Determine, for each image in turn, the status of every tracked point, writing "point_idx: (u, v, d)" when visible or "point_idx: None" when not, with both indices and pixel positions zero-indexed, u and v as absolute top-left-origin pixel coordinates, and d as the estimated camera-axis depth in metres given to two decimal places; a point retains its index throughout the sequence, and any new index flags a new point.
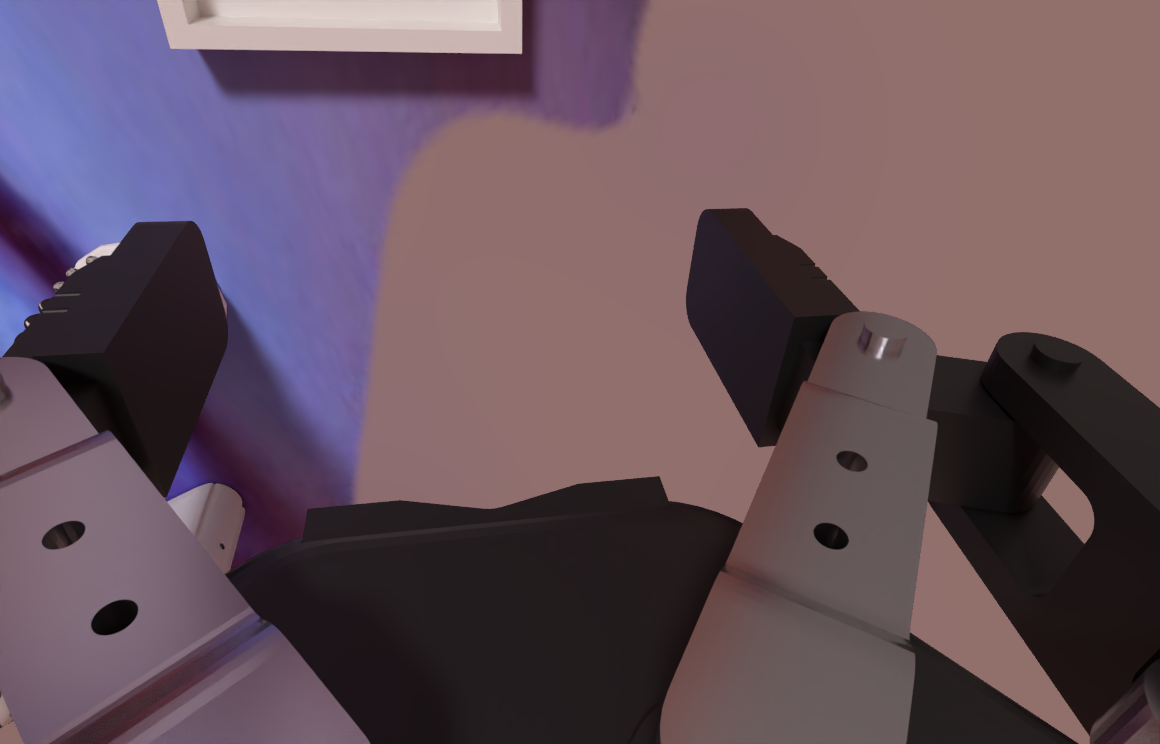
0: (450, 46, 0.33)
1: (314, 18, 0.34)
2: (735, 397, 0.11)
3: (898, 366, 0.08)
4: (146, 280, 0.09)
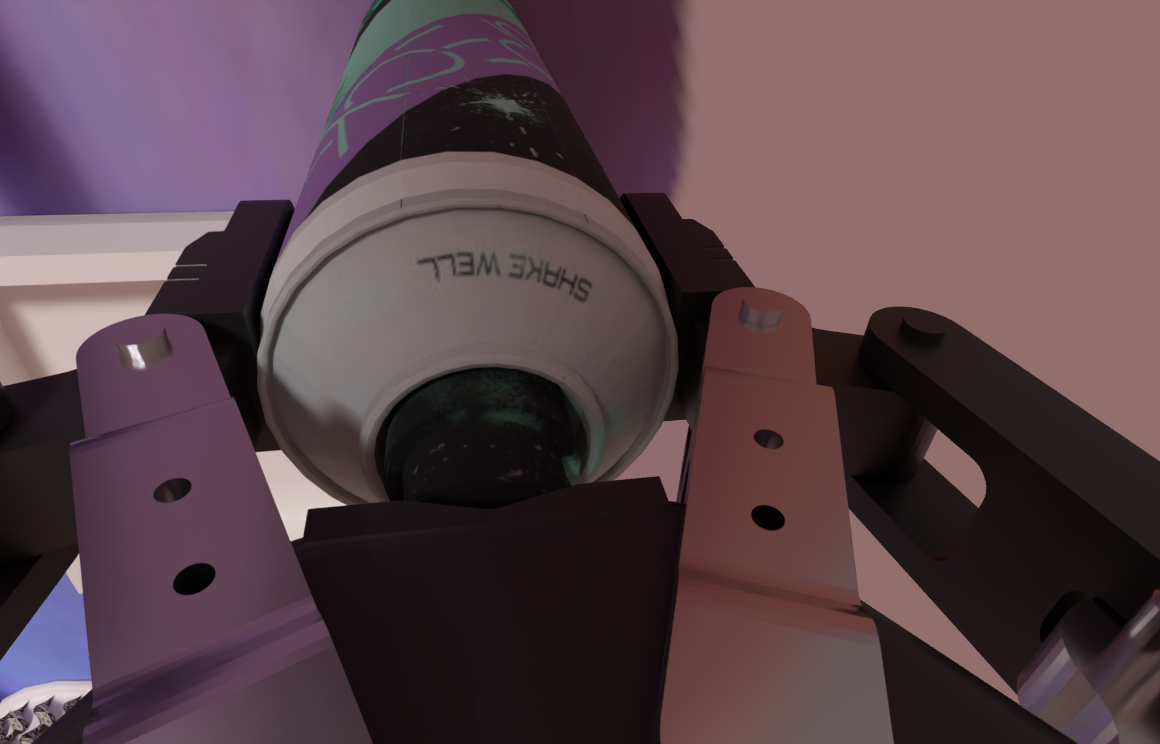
0: None
1: None
2: None
3: (768, 337, 0.08)
4: (263, 251, 0.09)
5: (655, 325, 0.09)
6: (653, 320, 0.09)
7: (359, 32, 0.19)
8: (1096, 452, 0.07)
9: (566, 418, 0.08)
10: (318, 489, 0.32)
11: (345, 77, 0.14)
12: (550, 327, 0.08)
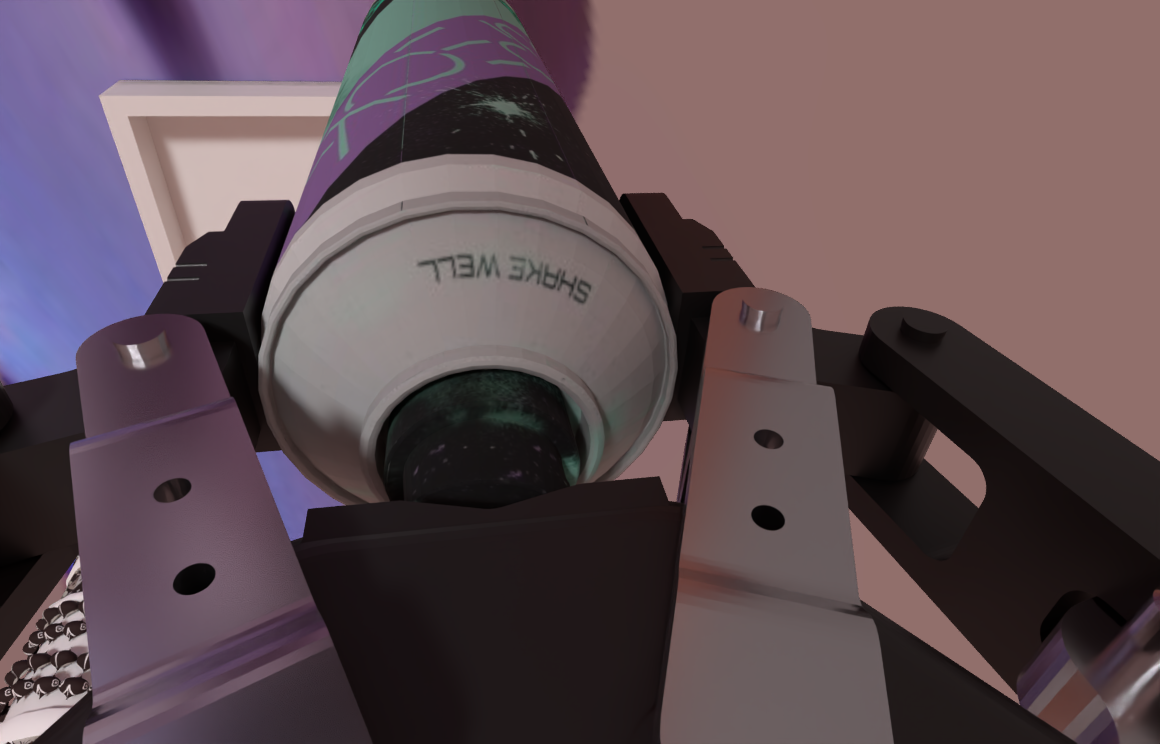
0: None
1: None
2: None
3: (769, 337, 0.08)
4: (263, 251, 0.09)
5: (654, 327, 0.09)
6: (652, 322, 0.09)
7: (359, 33, 0.19)
8: (1095, 452, 0.07)
9: (565, 419, 0.08)
10: None
11: (346, 79, 0.14)
12: (549, 329, 0.08)
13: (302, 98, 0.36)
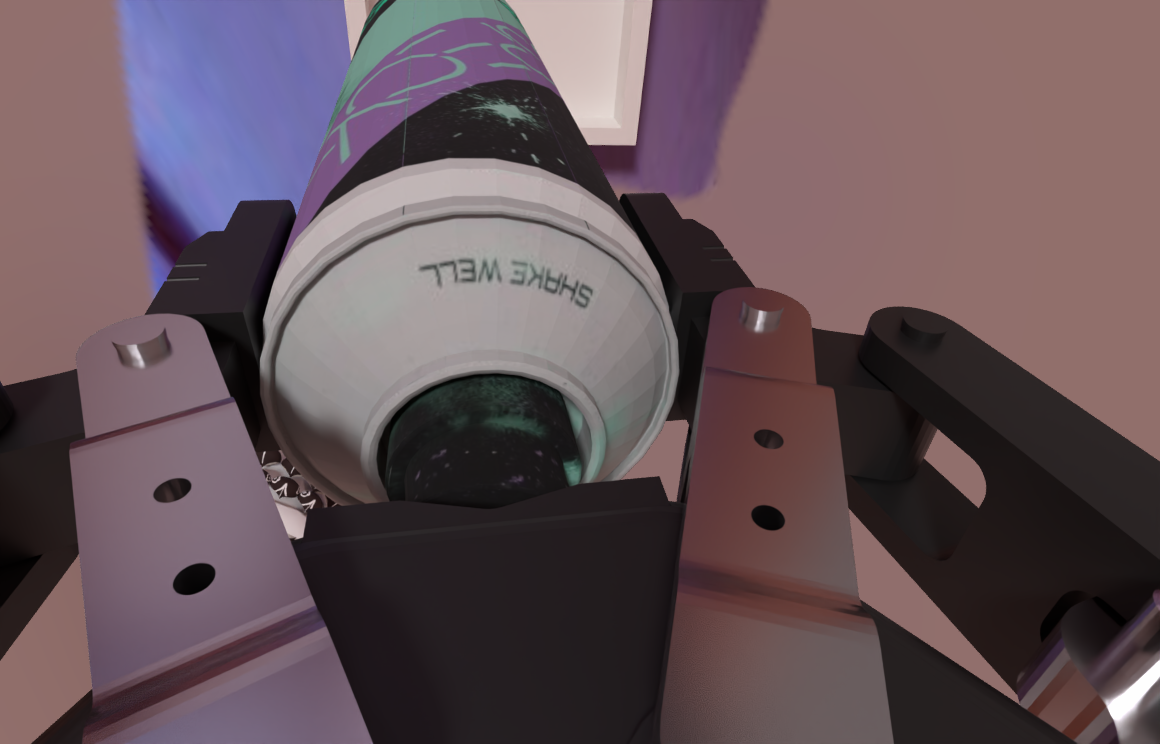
0: None
1: None
2: None
3: (769, 337, 0.08)
4: (263, 251, 0.09)
5: (656, 330, 0.09)
6: (654, 325, 0.09)
7: (361, 35, 0.19)
8: (1095, 452, 0.07)
9: (567, 423, 0.08)
10: None
11: (347, 81, 0.14)
12: (551, 334, 0.08)
13: None
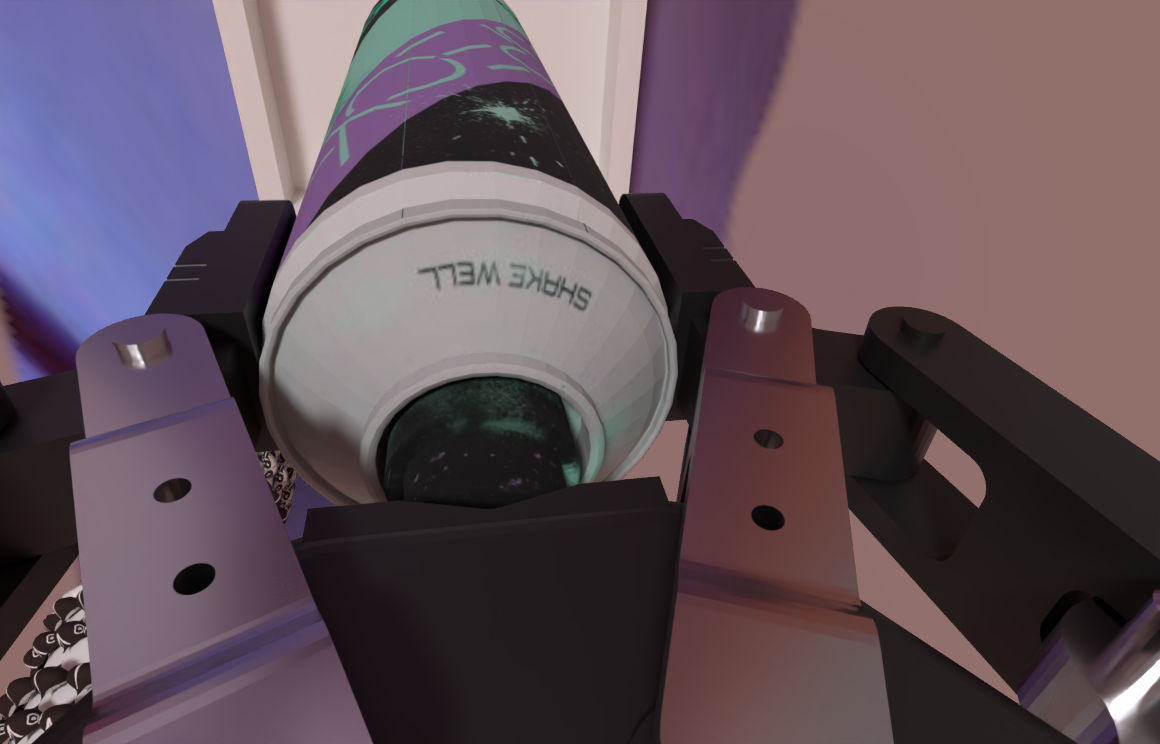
0: None
1: None
2: None
3: (769, 337, 0.08)
4: (263, 251, 0.09)
5: (654, 333, 0.09)
6: (652, 328, 0.09)
7: (360, 36, 0.19)
8: (1096, 452, 0.07)
9: (566, 426, 0.08)
10: None
11: (346, 83, 0.14)
12: (550, 336, 0.08)
13: None
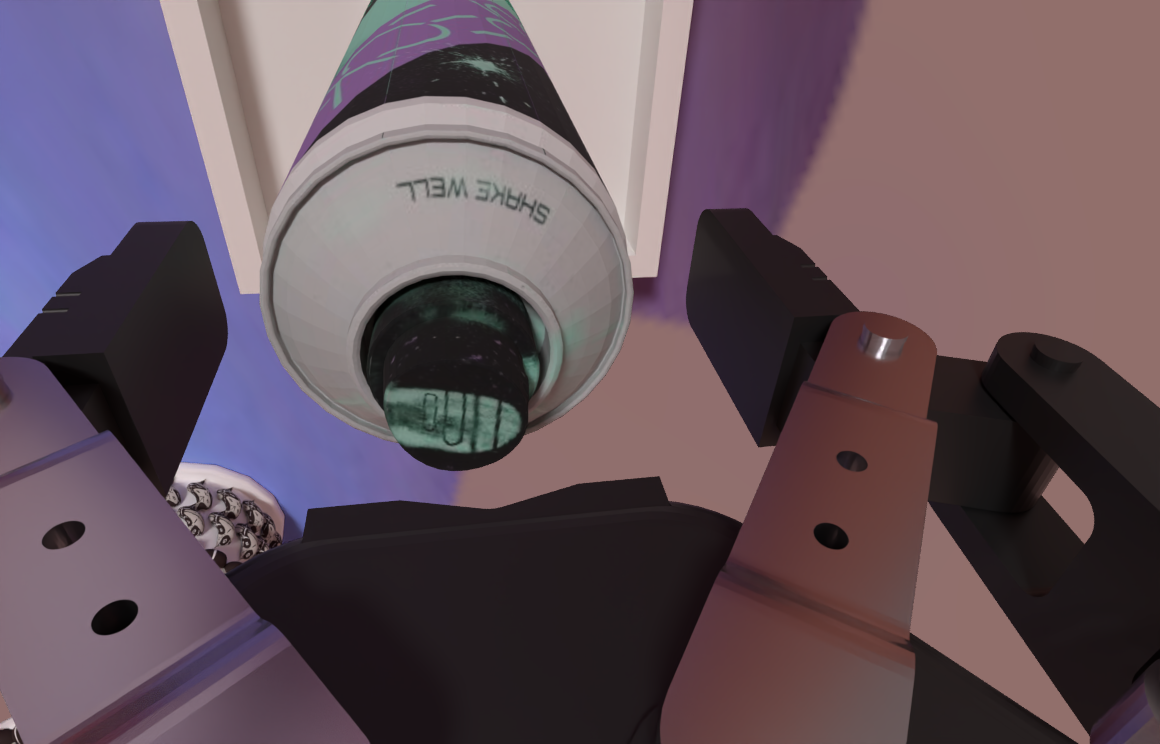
0: None
1: None
2: (734, 398, 0.11)
3: (897, 366, 0.08)
4: (146, 280, 0.09)
5: (610, 252, 0.10)
6: (608, 247, 0.10)
7: None
8: None
9: (526, 324, 0.09)
10: None
11: (345, 53, 0.16)
12: (511, 245, 0.09)
13: None
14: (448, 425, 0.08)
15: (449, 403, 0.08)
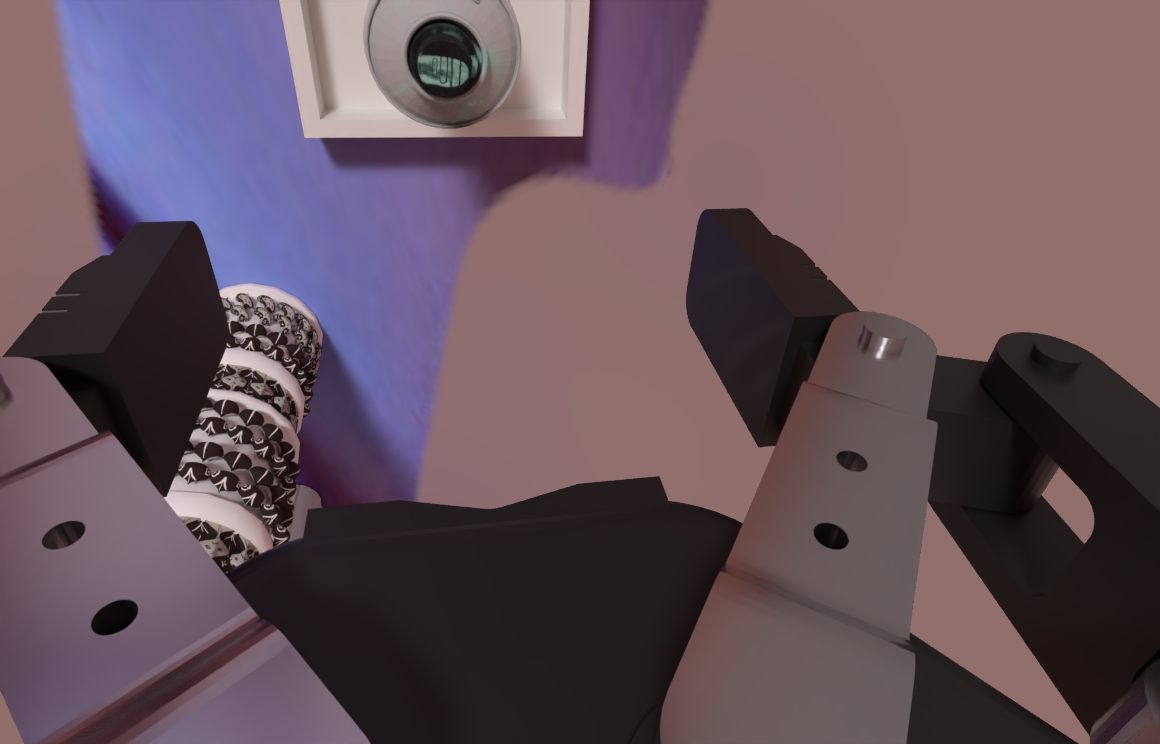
0: (525, 131, 0.41)
1: None
2: (734, 398, 0.11)
3: (898, 366, 0.08)
4: (146, 280, 0.09)
5: (508, 23, 0.24)
6: (507, 21, 0.23)
7: None
8: None
9: (472, 43, 0.23)
10: None
11: None
12: (465, 11, 0.23)
13: None
14: (441, 74, 0.22)
15: (441, 62, 0.22)
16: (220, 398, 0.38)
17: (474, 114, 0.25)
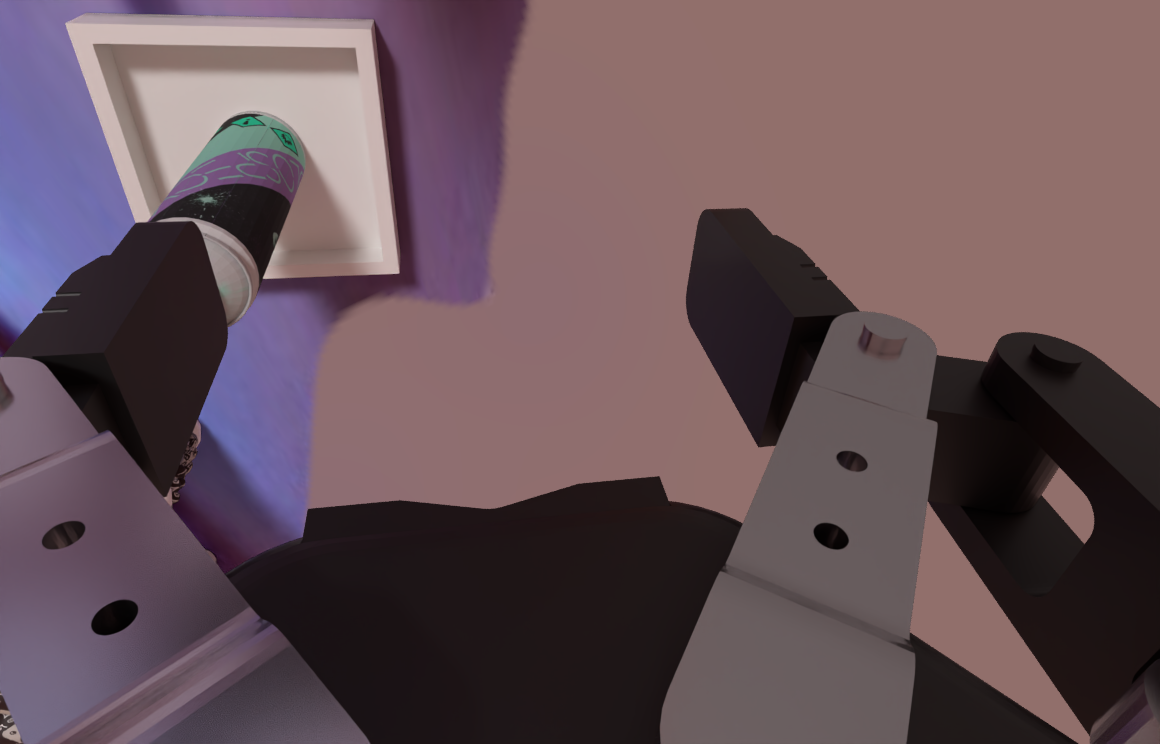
0: (348, 272, 0.49)
1: None
2: (735, 398, 0.11)
3: (898, 366, 0.08)
4: (146, 280, 0.09)
5: (236, 264, 0.31)
6: (234, 262, 0.31)
7: None
8: None
9: None
10: (309, 226, 0.49)
11: (180, 178, 0.37)
12: None
13: (254, 29, 0.39)
14: None
15: None
16: None
17: None
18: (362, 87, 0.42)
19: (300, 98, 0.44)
